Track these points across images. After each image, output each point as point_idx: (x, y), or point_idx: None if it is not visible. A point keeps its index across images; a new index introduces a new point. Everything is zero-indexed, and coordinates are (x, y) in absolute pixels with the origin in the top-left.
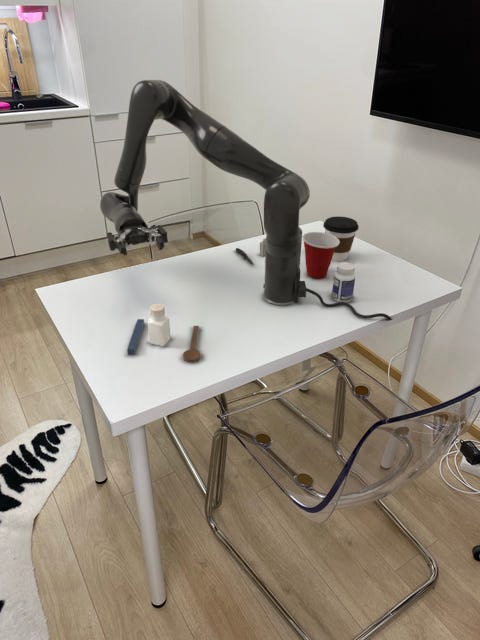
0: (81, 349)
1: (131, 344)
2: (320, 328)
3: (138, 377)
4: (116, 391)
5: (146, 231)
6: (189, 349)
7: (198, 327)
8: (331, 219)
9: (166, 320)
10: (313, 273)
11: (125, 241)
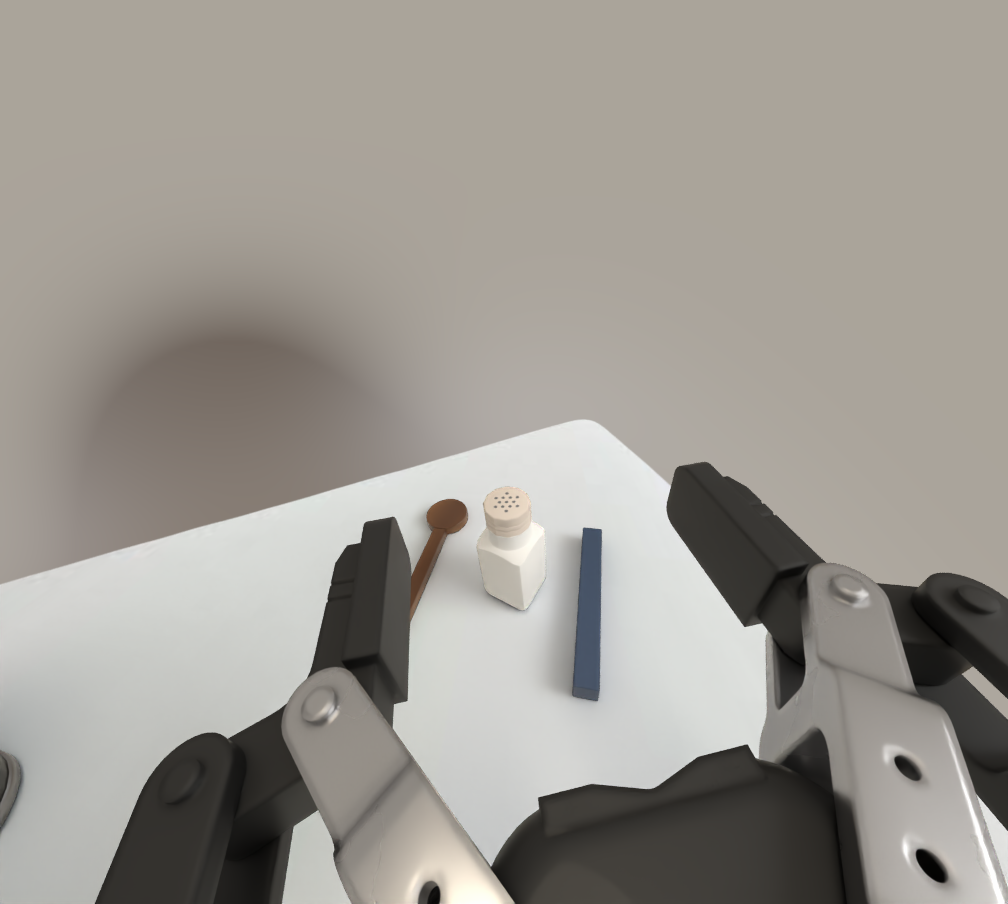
0: None
1: (593, 544)
2: (86, 589)
3: (564, 479)
4: (600, 455)
5: (479, 853)
6: (447, 527)
7: None
8: None
9: (486, 528)
10: None
11: (797, 697)
